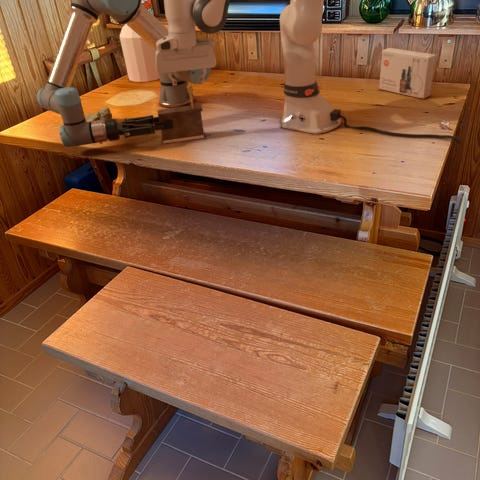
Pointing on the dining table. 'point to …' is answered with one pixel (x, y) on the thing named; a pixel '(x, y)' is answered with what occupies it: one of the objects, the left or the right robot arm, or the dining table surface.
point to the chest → (183, 127)
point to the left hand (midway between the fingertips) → (172, 121)
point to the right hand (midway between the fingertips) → (188, 83)
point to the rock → (100, 115)
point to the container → (138, 56)
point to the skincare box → (407, 72)
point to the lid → (181, 109)
